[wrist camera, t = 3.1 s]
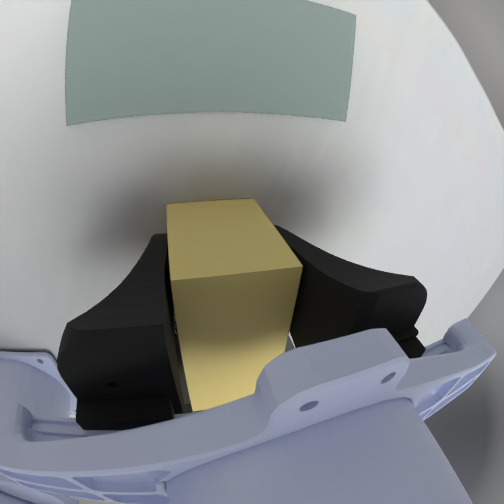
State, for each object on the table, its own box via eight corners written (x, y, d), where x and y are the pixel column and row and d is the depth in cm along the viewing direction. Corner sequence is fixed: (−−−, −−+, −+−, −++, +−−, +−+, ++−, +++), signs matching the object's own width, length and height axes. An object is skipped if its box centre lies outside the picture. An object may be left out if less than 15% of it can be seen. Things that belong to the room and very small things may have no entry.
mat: (69, 124, 9) (66, 125, 9) (74, 2, 6) (71, 0, 6) (341, 120, 12) (345, 121, 12) (351, 16, 9) (356, 15, 9)
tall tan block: (179, 330, 17) (192, 411, 12) (166, 203, 12) (170, 280, 8) (244, 322, 18) (272, 397, 13) (253, 198, 13) (303, 266, 9)
